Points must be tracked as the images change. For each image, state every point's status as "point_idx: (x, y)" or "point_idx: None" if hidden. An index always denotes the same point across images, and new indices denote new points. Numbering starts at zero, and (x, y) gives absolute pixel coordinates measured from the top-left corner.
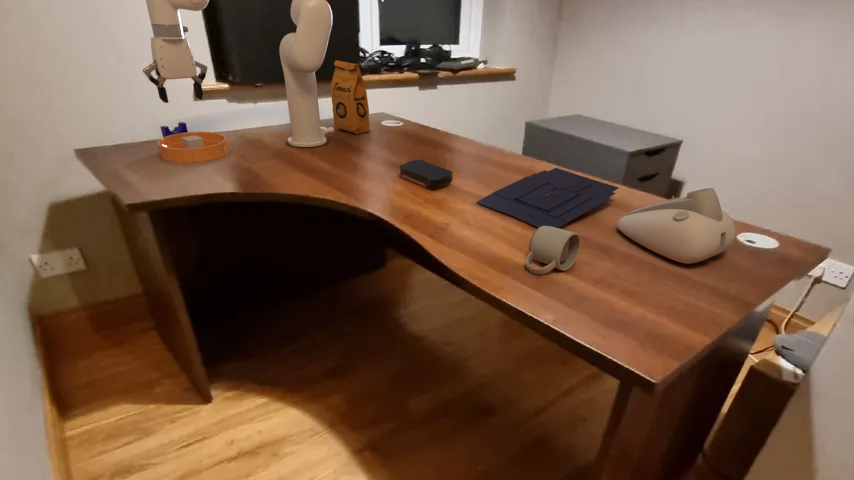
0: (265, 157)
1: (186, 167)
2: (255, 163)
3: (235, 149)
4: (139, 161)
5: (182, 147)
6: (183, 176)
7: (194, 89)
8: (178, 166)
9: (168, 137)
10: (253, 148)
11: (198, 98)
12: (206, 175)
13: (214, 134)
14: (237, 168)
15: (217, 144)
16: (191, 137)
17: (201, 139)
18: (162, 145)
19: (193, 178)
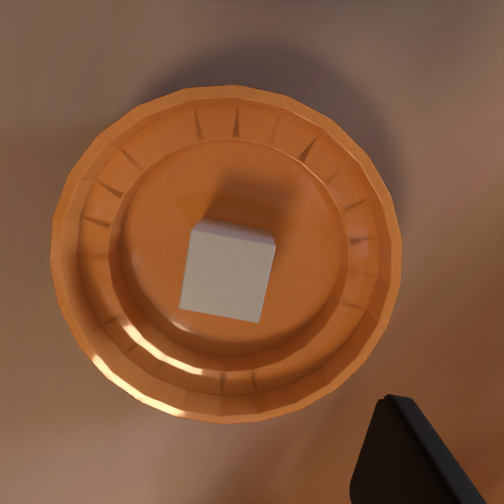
0: None
1: None
2: (313, 488)
3: (397, 303)
4: (7, 148)
5: (235, 141)
6: (57, 433)
7: (422, 477)
8: None
9: (176, 106)
10: (452, 345)
11: (359, 458)
12: (119, 475)
13: (387, 240)
14: (236, 488)
15: (260, 420)
16: (229, 268)
17: (251, 320)
18: (119, 145)
19: (72, 470)
